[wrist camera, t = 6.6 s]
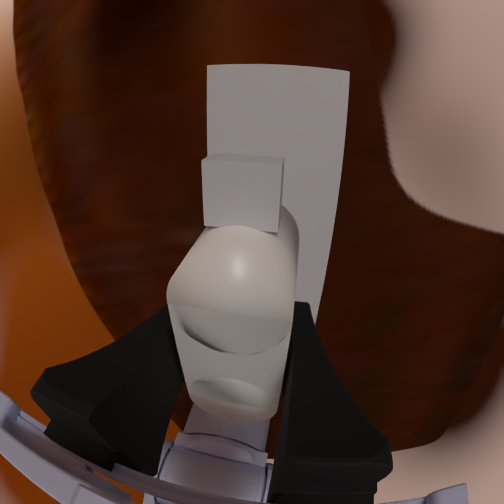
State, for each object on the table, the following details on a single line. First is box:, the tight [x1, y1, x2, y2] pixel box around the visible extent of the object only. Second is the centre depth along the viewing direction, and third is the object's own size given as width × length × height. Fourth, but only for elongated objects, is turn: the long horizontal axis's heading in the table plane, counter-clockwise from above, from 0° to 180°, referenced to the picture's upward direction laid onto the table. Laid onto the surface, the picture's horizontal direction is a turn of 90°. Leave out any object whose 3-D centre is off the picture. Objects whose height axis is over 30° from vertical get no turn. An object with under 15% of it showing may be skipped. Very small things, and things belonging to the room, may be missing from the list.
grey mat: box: [207, 64, 350, 323], centre depth 19 cm, size 20×8×1 cm, turn 179°
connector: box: [167, 153, 299, 423], centre depth 11 cm, size 10×4×4 cm, turn 178°
